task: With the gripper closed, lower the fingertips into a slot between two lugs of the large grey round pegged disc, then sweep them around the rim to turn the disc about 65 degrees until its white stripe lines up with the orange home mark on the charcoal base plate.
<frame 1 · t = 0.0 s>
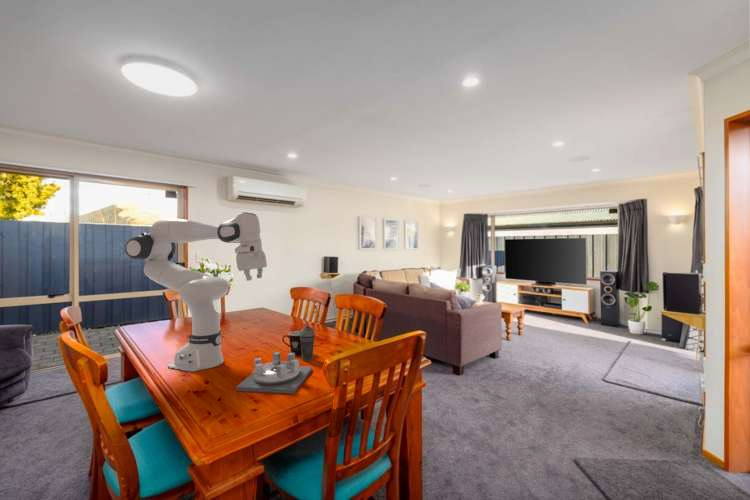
hand: (254, 279, 142), 39 cm above the table, tool pointing down, fingers open, 8 cm apart
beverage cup: (307, 360, 150), on the table
base plate: (276, 379, 128), on the table
grey round pegged disc: (276, 367, 127), point 5 cm above the table, hinge at 0.0°
coffee mug: (295, 353, 160), on the table
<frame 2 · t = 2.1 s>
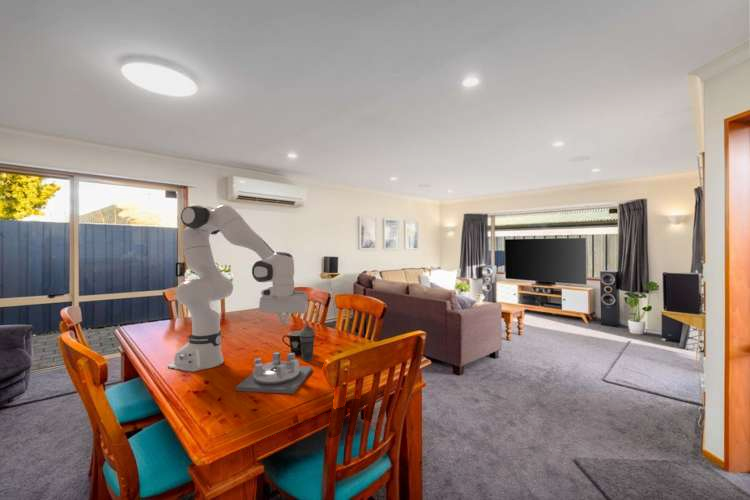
hand: (283, 323, 134), 21 cm above the table, tool pointing down, fingers closed
nothing on the table moved.
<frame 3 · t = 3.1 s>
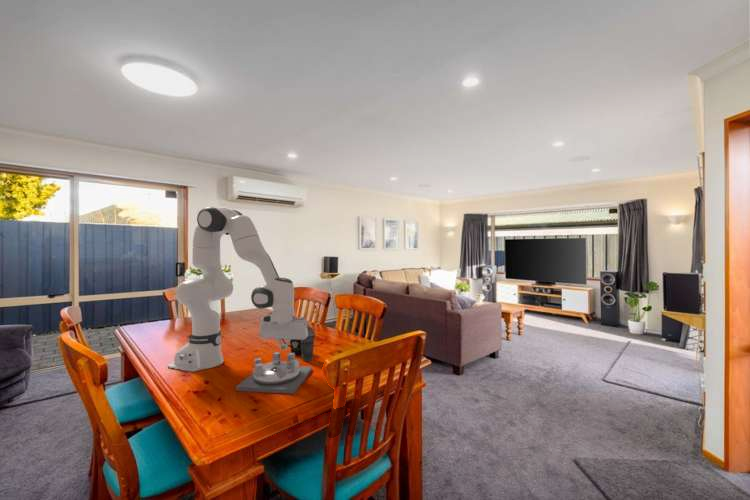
hand: (284, 349, 134), 10 cm above the table, tool pointing down, fingers closed
nothing on the table moved.
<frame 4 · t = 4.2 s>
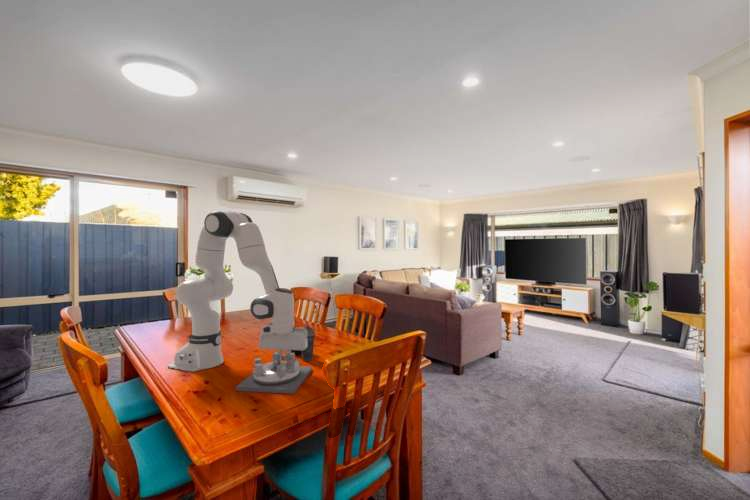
hand: (283, 359, 134), 6 cm above the table, tool pointing down, fingers closed
grey round pegged disc: (276, 367, 127), point 5 cm above the table, hinge at 0.0°, touching gripper
everything else where it was.
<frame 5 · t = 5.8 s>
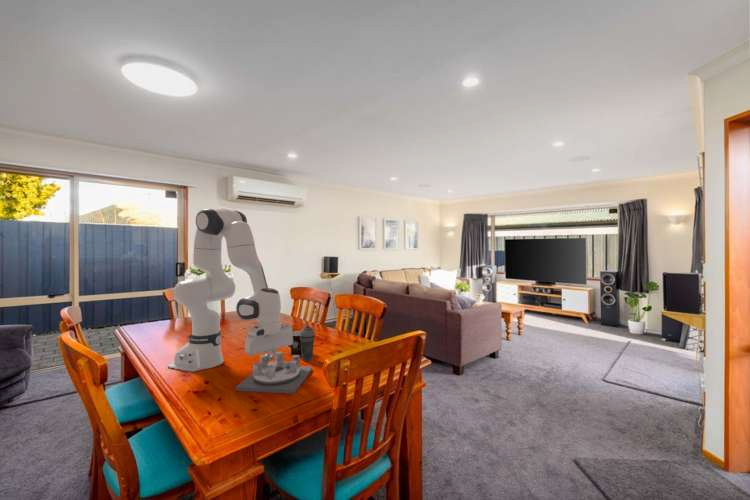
hand: (270, 360, 133), 6 cm above the table, tool pointing down, fingers closed
grey round pegged disc: (276, 367, 127), point 5 cm above the table, hinge at 41.1°, touching gripper
everything else where it was.
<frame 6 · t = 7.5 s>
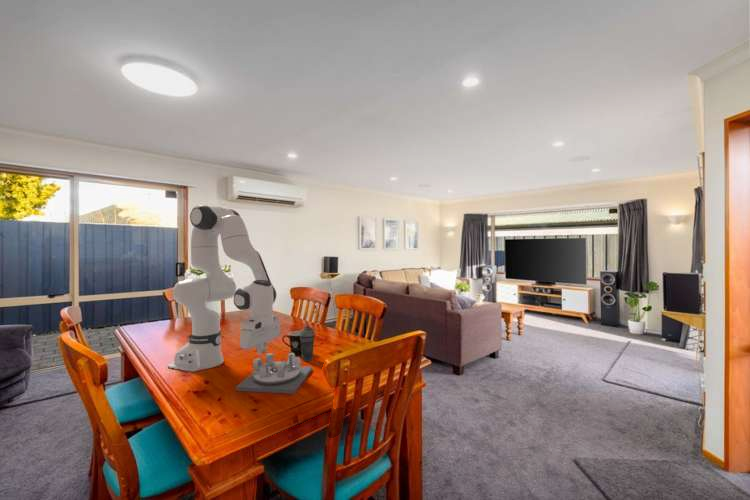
hand: (261, 353, 130), 10 cm above the table, tool pointing down, fingers closed
grey round pegged disc: (276, 367, 127), point 5 cm above the table, hinge at 70.3°
everything else where it was.
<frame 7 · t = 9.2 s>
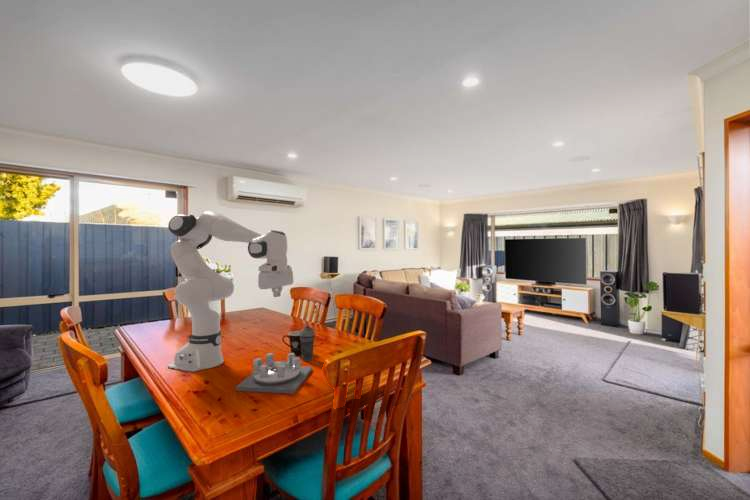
hand: (277, 296, 144), 31 cm above the table, tool pointing down, fingers closed
nothing on the table moved.
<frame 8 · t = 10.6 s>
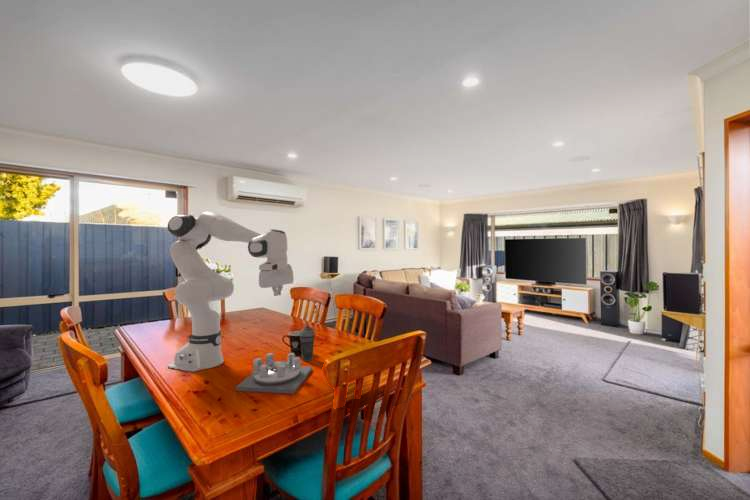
hand: (277, 295, 145), 31 cm above the table, tool pointing down, fingers closed
nothing on the table moved.
at the end: grey round pegged disc at +70° (first picture: +0°); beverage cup moved 0.2 cm from its start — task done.
